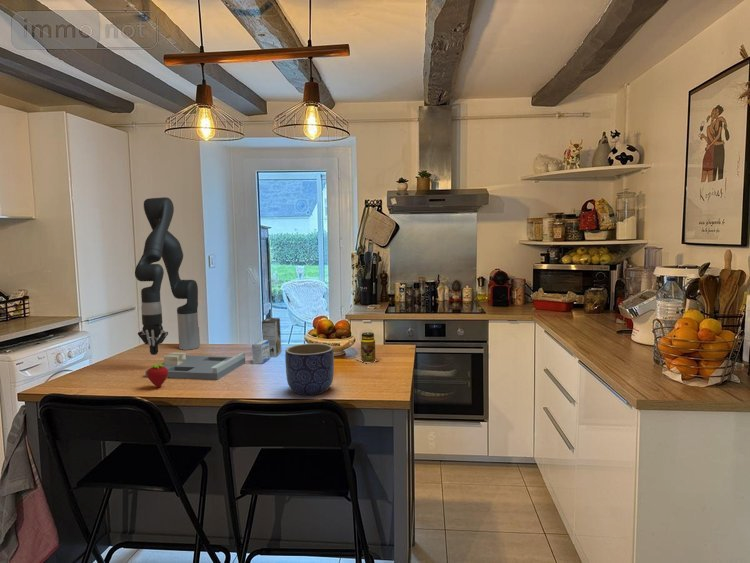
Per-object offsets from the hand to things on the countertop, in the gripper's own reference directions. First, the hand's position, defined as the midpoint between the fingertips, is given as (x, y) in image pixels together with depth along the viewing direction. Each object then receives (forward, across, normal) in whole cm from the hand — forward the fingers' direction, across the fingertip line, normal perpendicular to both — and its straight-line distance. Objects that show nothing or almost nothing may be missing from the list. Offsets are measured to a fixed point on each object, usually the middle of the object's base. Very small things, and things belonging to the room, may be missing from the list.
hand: (154, 354), depth 200 cm
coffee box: (+6, -40, -28) cm, 49 cm away
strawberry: (+6, -17, +22) cm, 29 cm away
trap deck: (+6, -19, 0) cm, 20 cm away
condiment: (+6, -85, -23) cm, 88 cm away
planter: (+6, -73, +18) cm, 76 cm away
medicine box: (+6, -40, -16) cm, 43 cm away
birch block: (+3, -9, 0) cm, 10 cm away
